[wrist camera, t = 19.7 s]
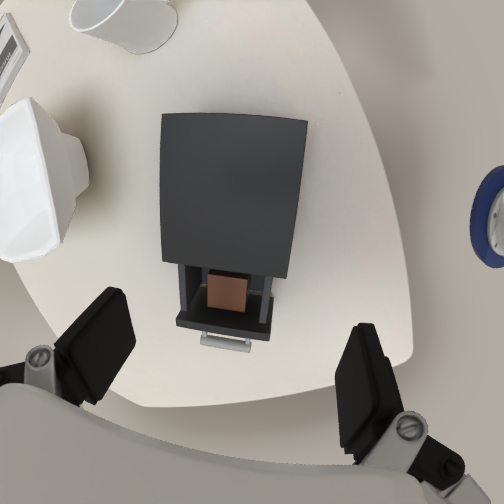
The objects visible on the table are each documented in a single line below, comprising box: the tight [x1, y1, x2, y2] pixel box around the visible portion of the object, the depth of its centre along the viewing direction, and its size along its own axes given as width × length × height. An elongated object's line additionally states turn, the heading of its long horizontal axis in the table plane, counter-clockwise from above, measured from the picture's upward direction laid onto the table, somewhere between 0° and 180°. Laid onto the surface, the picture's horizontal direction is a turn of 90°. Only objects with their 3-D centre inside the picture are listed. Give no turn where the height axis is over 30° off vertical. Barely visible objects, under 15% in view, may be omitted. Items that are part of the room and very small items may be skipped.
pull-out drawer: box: [176, 264, 274, 353], centre depth 33 cm, size 19×11×8 cm, turn 175°
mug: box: [69, 0, 177, 54], centre depth 18 cm, size 12×8×12 cm
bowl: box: [0, 97, 90, 263], centre depth 27 cm, size 19×19×14 cm
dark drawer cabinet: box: [160, 113, 308, 279], centre depth 28 cm, size 15×13×10 cm
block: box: [207, 269, 251, 312], centre depth 33 cm, size 5×5×5 cm
